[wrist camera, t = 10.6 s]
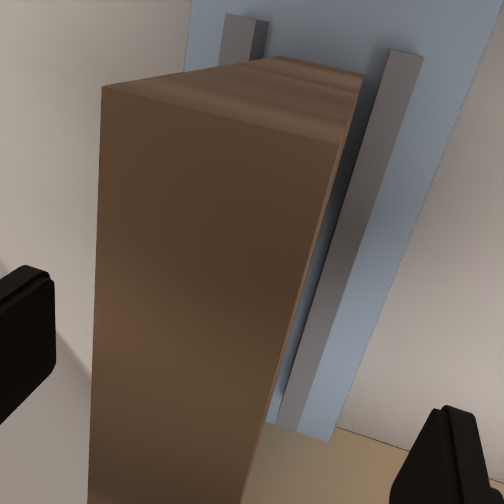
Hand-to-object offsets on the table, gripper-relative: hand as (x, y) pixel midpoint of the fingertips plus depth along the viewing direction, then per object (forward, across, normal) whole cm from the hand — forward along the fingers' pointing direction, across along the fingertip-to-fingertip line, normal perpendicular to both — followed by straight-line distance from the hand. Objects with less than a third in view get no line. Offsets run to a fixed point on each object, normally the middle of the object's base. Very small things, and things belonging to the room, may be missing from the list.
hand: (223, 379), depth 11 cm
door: (+9, 0, +1) cm, 9 cm away
